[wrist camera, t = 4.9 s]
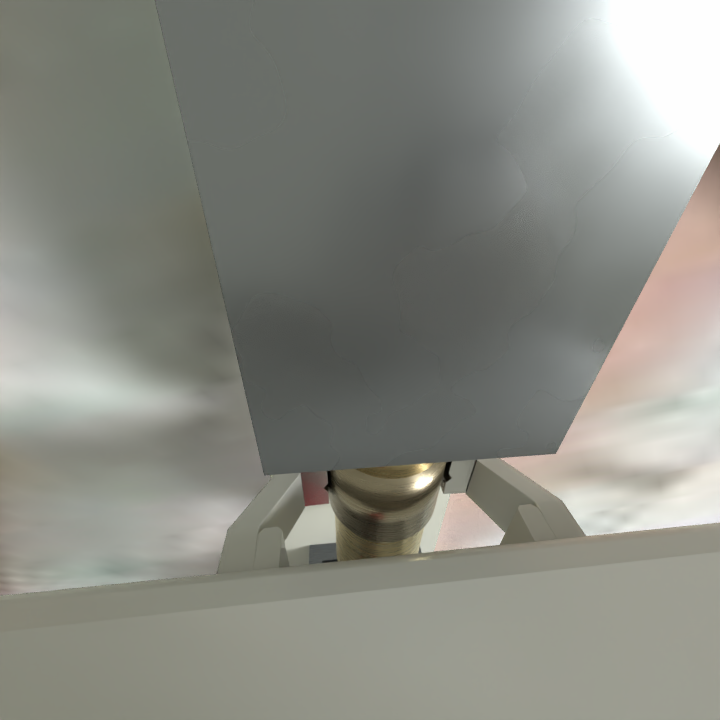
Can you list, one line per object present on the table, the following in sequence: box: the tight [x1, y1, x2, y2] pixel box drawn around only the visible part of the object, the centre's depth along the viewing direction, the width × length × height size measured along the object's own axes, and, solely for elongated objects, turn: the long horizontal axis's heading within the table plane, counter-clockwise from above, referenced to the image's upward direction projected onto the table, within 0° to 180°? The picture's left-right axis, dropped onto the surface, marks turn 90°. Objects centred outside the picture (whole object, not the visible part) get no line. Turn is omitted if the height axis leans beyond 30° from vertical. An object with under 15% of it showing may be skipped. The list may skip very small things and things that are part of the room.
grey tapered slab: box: [155, 0, 720, 475], centre depth 7 cm, size 11×6×6 cm, turn 179°
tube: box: [328, 462, 446, 562], centre depth 9 cm, size 20×4×4 cm, turn 179°
